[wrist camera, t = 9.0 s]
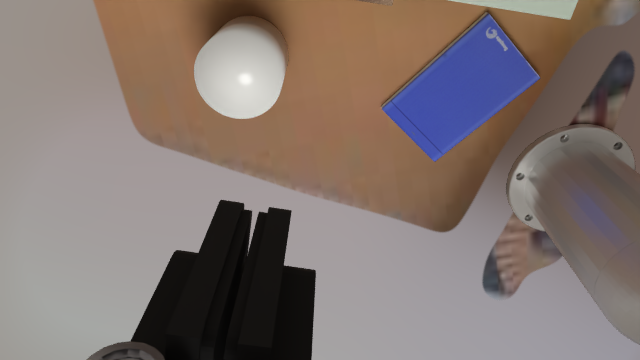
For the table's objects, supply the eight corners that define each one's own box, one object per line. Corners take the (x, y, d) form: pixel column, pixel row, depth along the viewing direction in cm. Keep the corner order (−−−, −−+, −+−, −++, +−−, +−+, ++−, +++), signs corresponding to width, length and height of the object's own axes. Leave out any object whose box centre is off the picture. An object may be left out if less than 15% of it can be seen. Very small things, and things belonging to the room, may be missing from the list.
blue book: (489, 13, 39) (381, 109, 44) (541, 79, 42) (435, 163, 47) (484, 10, 41) (380, 104, 45) (535, 74, 44) (432, 156, 48)
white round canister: (292, 22, 41) (286, 40, 35) (284, 96, 44) (277, 124, 38) (214, 10, 41) (194, 26, 34) (212, 85, 44) (193, 112, 38)
